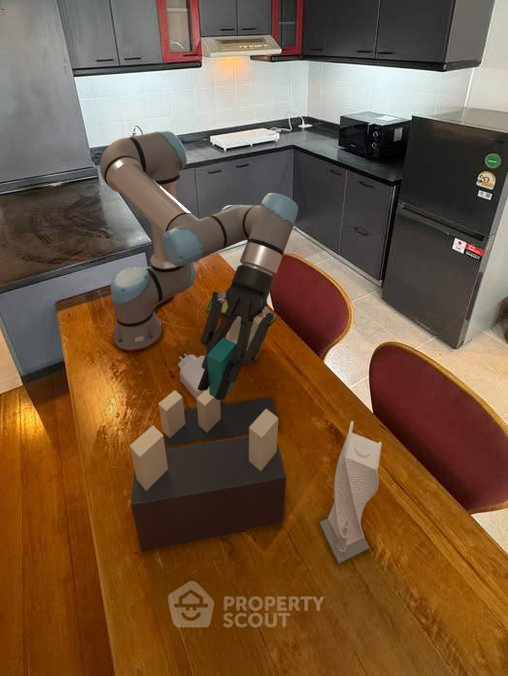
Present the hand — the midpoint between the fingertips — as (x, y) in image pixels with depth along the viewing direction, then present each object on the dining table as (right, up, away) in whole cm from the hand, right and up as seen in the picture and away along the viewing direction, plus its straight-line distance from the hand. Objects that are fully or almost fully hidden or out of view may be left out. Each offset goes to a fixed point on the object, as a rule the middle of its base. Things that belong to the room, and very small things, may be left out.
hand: (210, 393), depth 68 cm
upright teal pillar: (+2, -1, +4) cm, 5 cm away
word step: (-1, -30, +12) cm, 32 cm away
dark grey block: (0, -22, +29) cm, 37 cm away
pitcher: (+7, -12, +50) cm, 52 cm away
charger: (-8, -16, +42) cm, 46 cm away
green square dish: (-3, -3, +69) cm, 69 cm away
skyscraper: (+26, -32, +9) cm, 42 cm away
